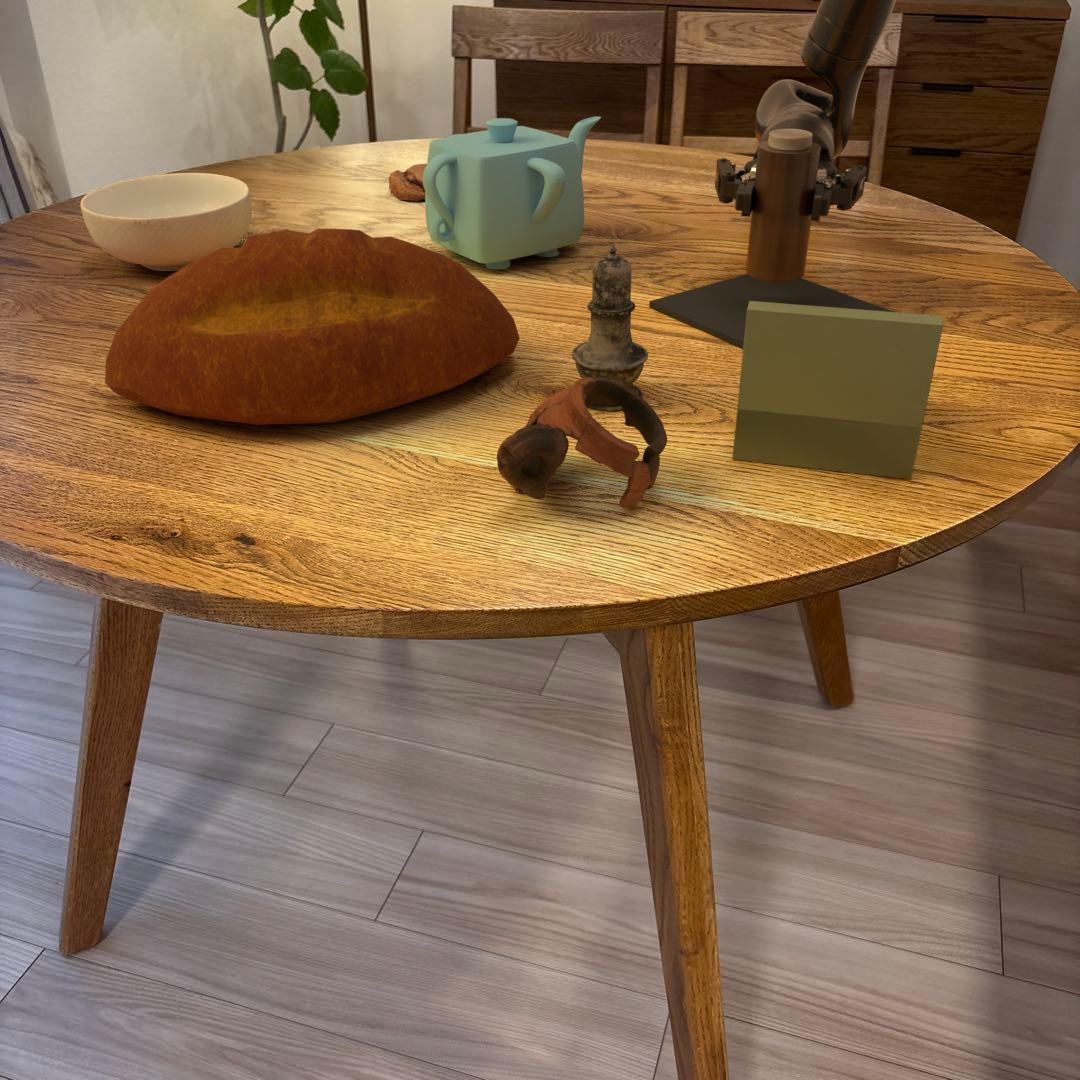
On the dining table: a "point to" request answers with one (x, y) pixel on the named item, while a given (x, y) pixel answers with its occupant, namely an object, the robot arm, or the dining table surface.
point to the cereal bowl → (168, 218)
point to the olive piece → (834, 387)
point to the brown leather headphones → (583, 439)
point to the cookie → (408, 183)
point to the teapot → (506, 191)
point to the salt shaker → (611, 329)
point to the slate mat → (747, 303)
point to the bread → (308, 330)
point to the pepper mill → (782, 205)
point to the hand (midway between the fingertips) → (781, 206)
